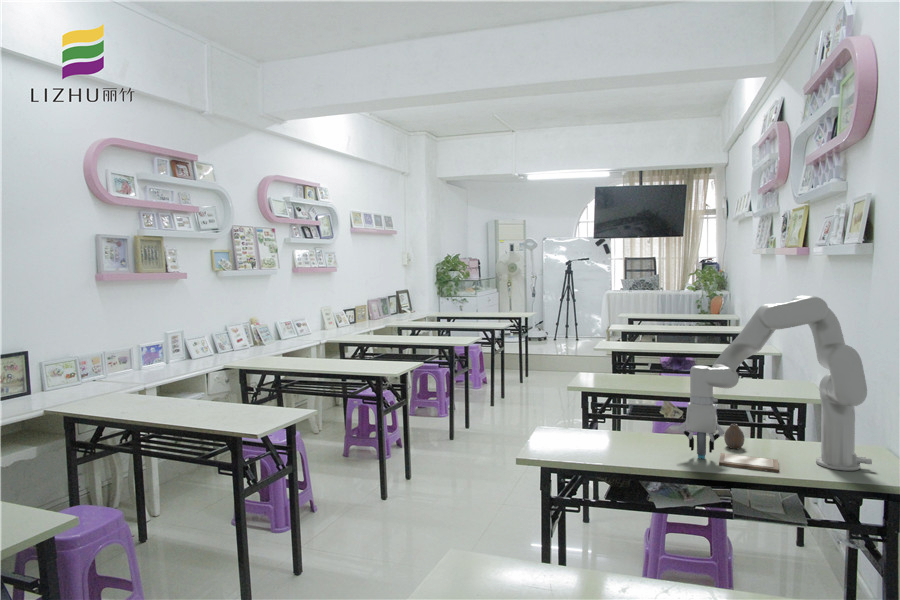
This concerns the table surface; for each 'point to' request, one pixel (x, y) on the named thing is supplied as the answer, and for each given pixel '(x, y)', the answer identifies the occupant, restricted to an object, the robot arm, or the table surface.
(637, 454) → the table surface
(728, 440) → the vase
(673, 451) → the table surface
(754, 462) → the brown picture frame
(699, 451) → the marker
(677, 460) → the table surface
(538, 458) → the table surface
